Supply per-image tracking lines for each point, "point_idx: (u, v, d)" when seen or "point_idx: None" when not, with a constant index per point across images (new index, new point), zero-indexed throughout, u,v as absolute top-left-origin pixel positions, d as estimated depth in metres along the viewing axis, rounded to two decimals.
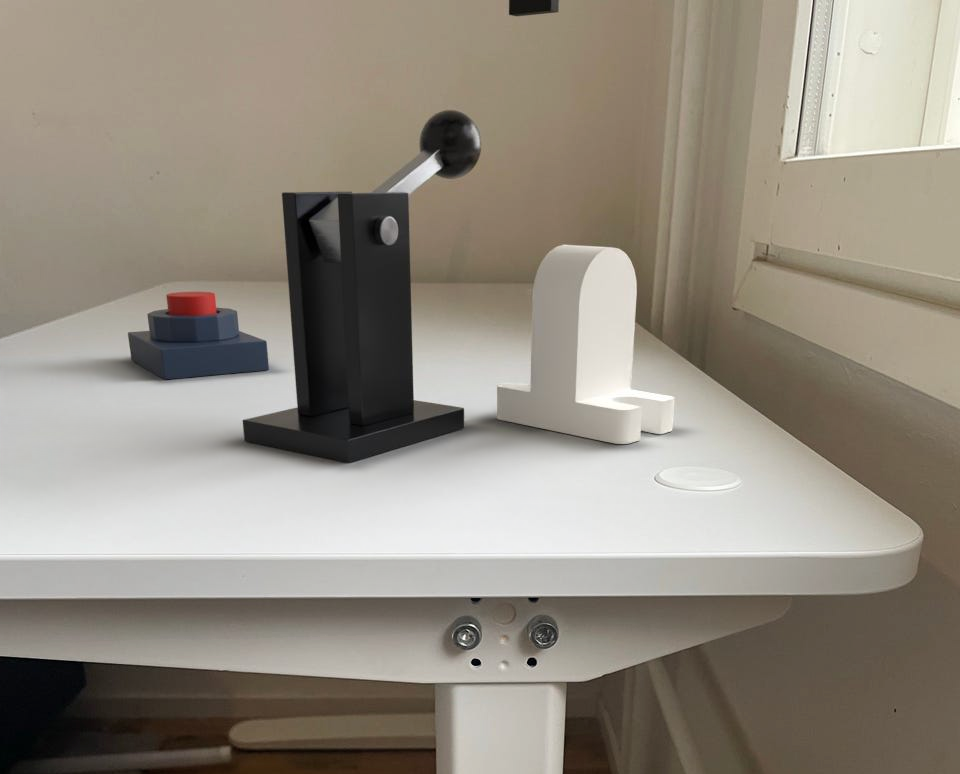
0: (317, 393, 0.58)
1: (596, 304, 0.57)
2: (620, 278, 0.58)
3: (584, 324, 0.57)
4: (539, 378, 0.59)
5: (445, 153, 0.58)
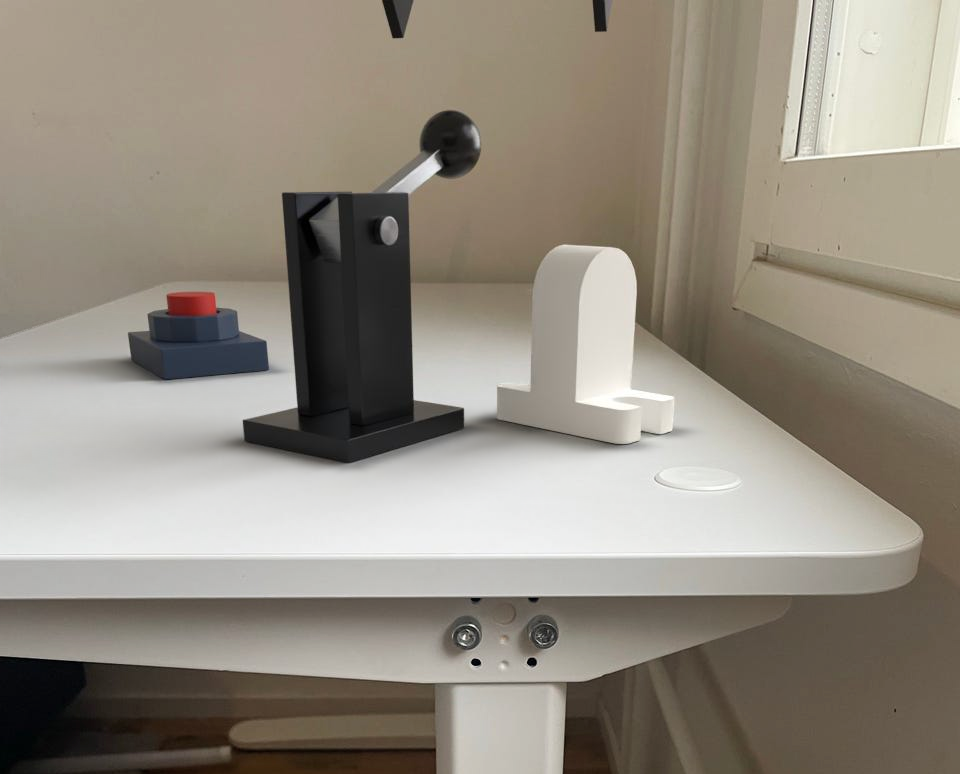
0: (317, 393, 0.58)
1: (596, 304, 0.57)
2: (620, 278, 0.58)
3: (584, 324, 0.57)
4: (539, 378, 0.59)
5: (445, 153, 0.58)
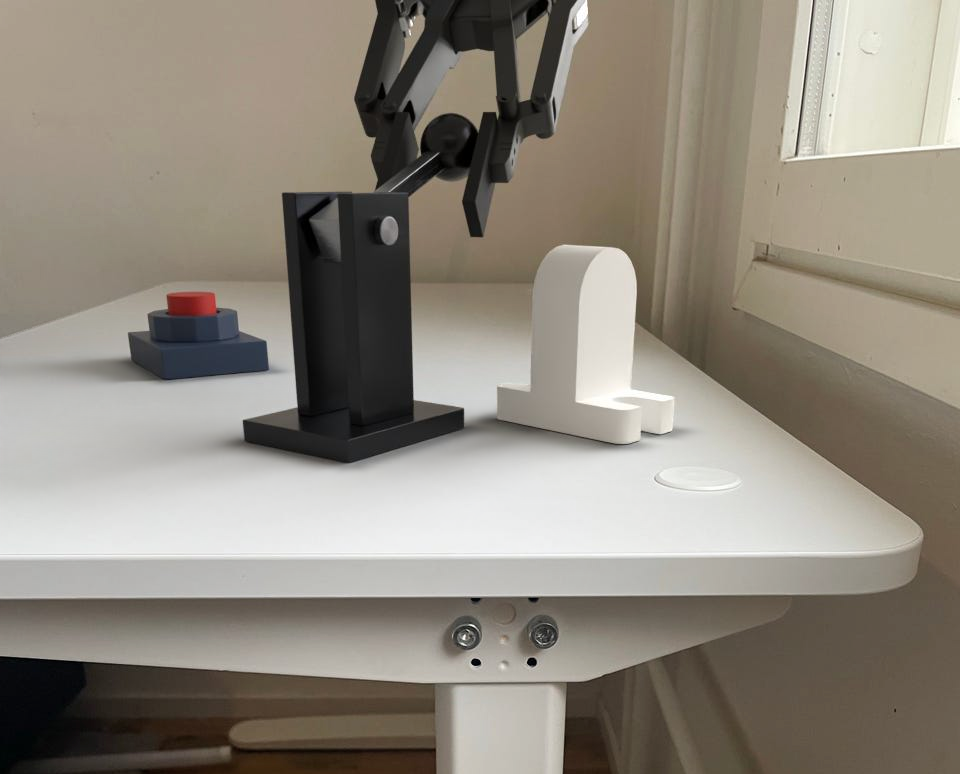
0: (317, 393, 0.58)
1: (596, 304, 0.57)
2: (620, 278, 0.58)
3: (584, 324, 0.57)
4: (539, 378, 0.59)
5: (446, 156, 0.58)
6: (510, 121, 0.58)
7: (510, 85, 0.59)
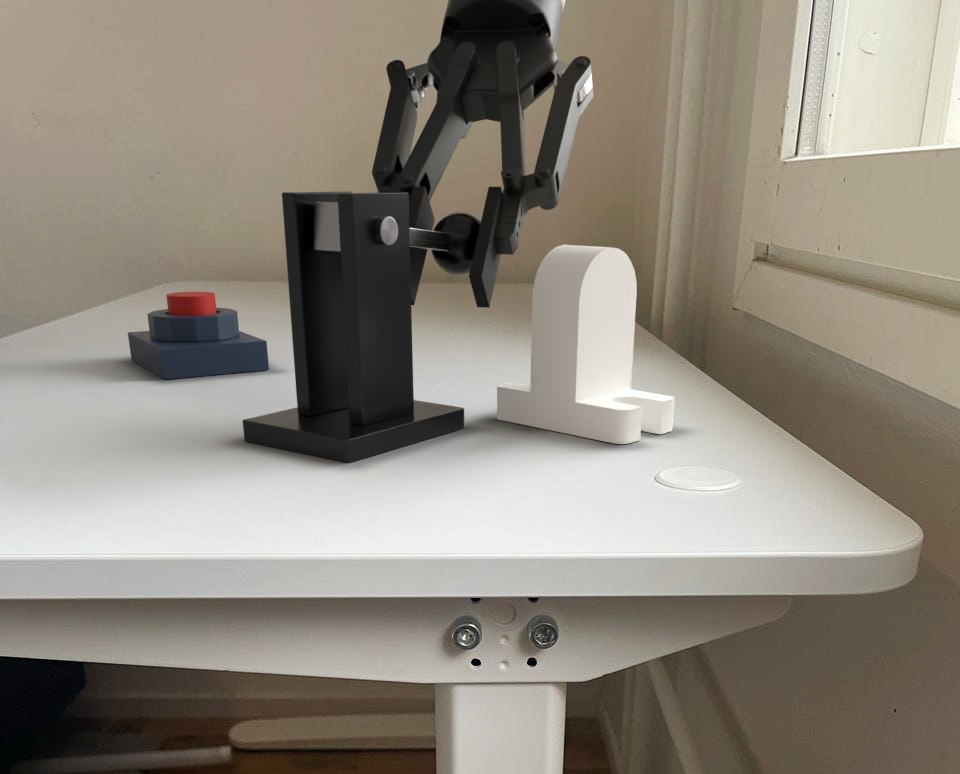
0: (317, 393, 0.58)
1: (596, 304, 0.57)
2: (620, 278, 0.58)
3: (584, 324, 0.57)
4: (539, 378, 0.59)
5: (455, 239, 0.60)
6: (514, 195, 0.60)
7: (515, 160, 0.61)
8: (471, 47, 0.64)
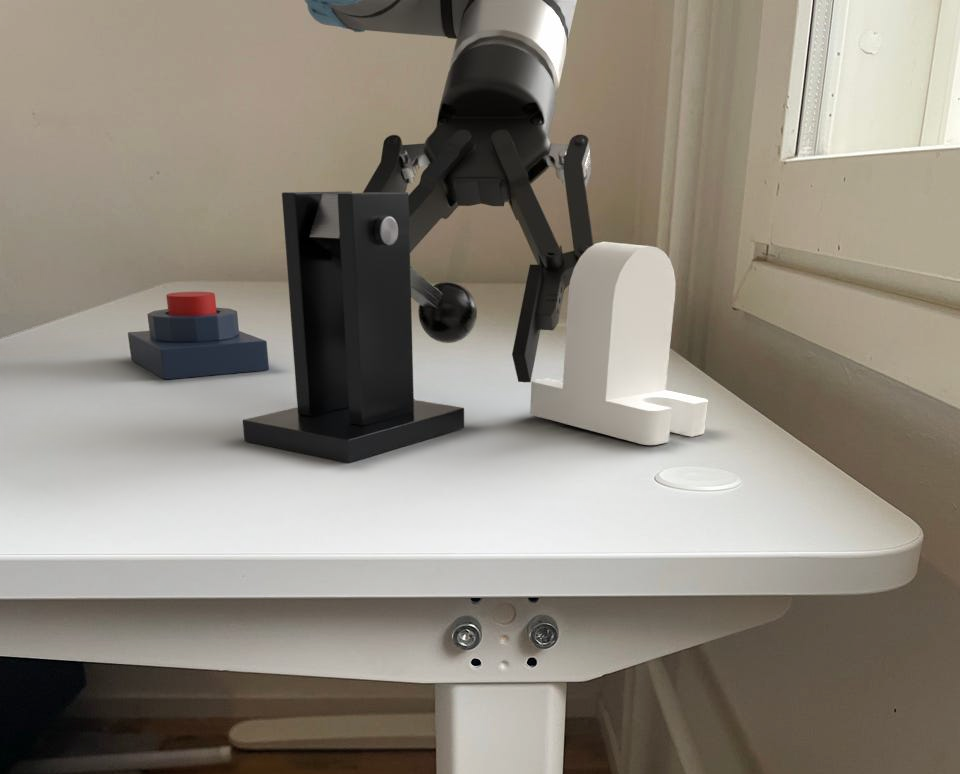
0: (317, 393, 0.58)
1: (631, 303, 0.56)
2: (658, 277, 0.57)
3: (618, 323, 0.56)
4: (572, 375, 0.59)
5: (445, 298, 0.61)
6: (558, 271, 0.62)
7: (548, 238, 0.62)
8: (467, 135, 0.65)
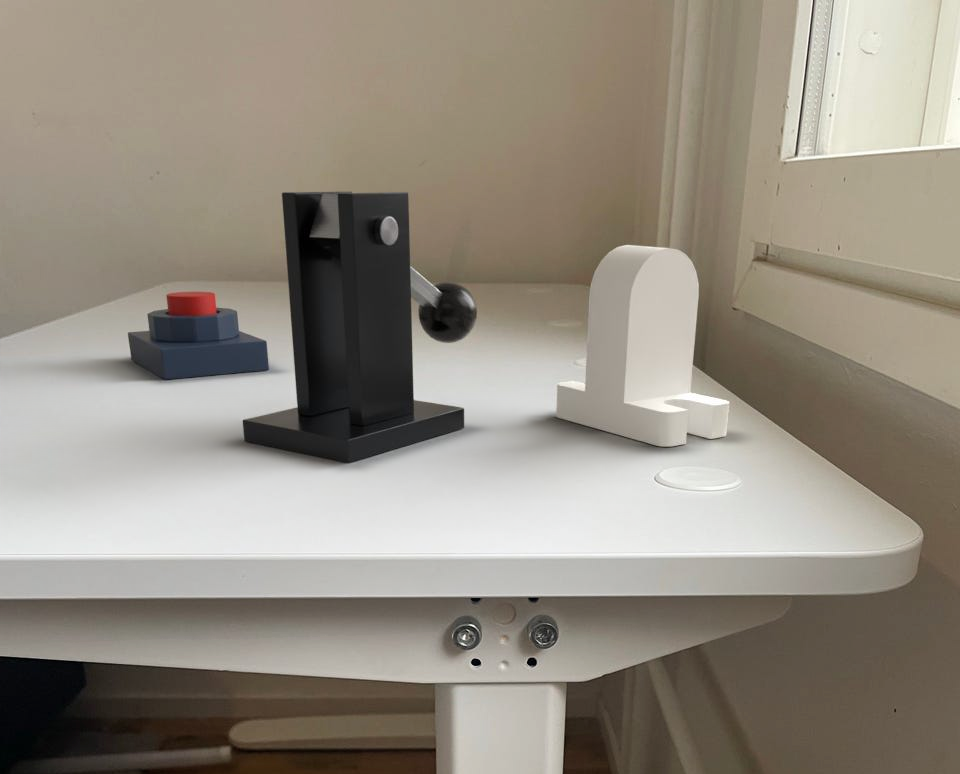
0: (317, 393, 0.58)
1: (650, 305, 0.56)
2: (678, 280, 0.57)
3: (635, 325, 0.56)
4: (593, 377, 0.59)
5: (445, 298, 0.61)
6: None
7: None
8: None
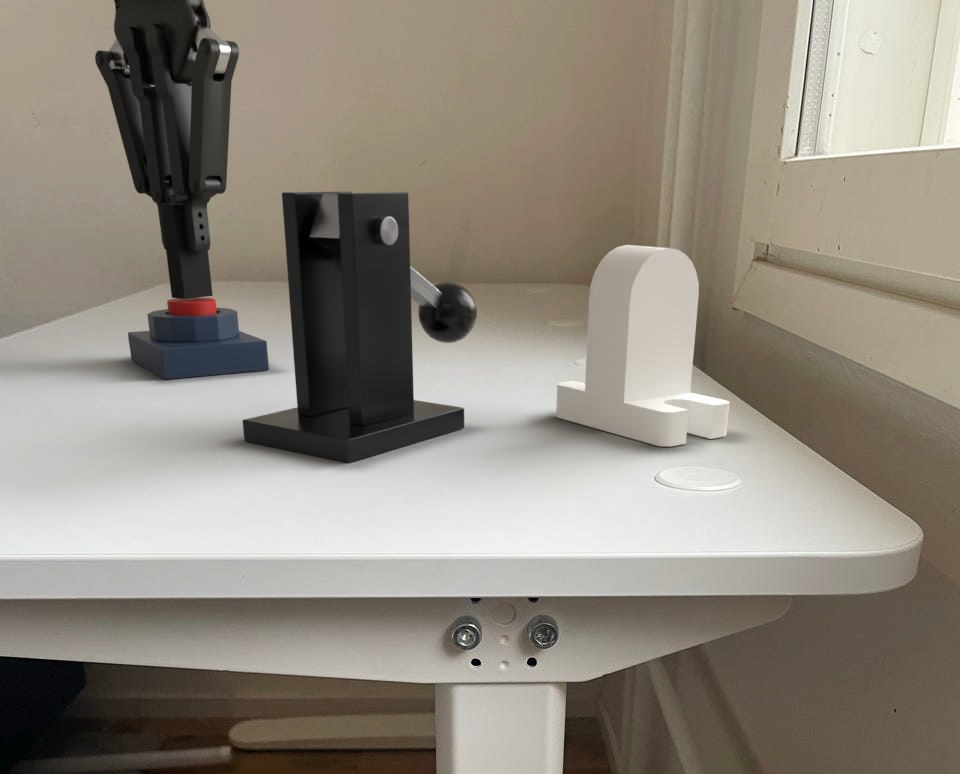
0: (317, 393, 0.58)
1: (650, 305, 0.56)
2: (678, 279, 0.57)
3: (635, 325, 0.56)
4: (593, 377, 0.59)
5: (445, 298, 0.61)
6: (185, 205, 0.74)
7: (178, 172, 0.73)
8: (130, 34, 0.70)
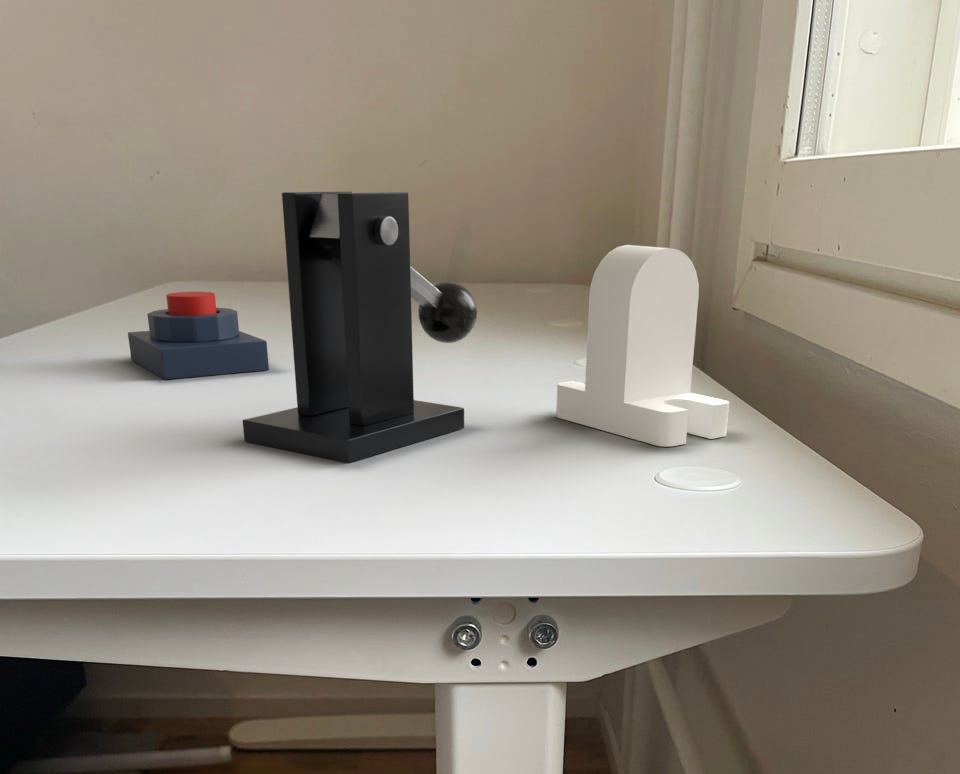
0: (317, 393, 0.58)
1: (650, 305, 0.56)
2: (678, 279, 0.57)
3: (635, 325, 0.56)
4: (593, 377, 0.59)
5: (445, 298, 0.61)
6: None
7: None
8: None
